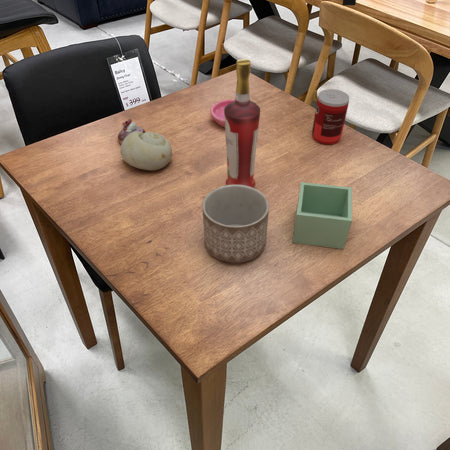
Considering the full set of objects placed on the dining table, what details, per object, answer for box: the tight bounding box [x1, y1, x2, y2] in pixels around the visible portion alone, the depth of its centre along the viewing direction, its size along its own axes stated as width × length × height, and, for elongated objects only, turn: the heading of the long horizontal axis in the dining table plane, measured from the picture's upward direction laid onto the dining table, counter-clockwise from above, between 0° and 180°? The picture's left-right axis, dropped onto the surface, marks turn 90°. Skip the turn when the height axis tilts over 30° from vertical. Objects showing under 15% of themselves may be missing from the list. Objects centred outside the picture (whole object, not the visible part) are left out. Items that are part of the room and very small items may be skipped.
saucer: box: [209, 98, 235, 128], centre depth 121 cm, size 12×12×3 cm
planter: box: [201, 184, 270, 264], centre depth 87 cm, size 13×13×10 cm
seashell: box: [119, 131, 173, 171], centre depth 106 cm, size 13×8×10 cm
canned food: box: [311, 88, 350, 146], centre depth 112 cm, size 8×8×11 cm
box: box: [291, 181, 353, 250], centre depth 91 cm, size 11×11×8 cm
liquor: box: [224, 58, 261, 188], centre depth 92 cm, size 7×7×28 cm
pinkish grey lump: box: [117, 118, 147, 145], centre depth 114 cm, size 8×8×5 cm
